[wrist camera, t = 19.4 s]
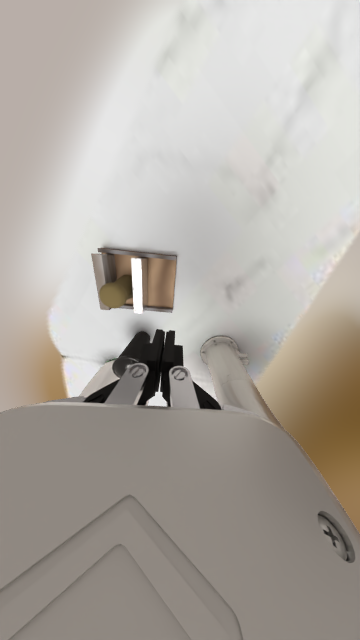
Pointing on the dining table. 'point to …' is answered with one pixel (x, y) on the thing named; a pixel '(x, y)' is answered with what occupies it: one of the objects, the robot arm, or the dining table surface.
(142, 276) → the sliding jaw
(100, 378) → the cup
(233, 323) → the dining table surface
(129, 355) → the drinking cup
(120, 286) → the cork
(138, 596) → the robot arm
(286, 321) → the dining table surface
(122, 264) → the base
